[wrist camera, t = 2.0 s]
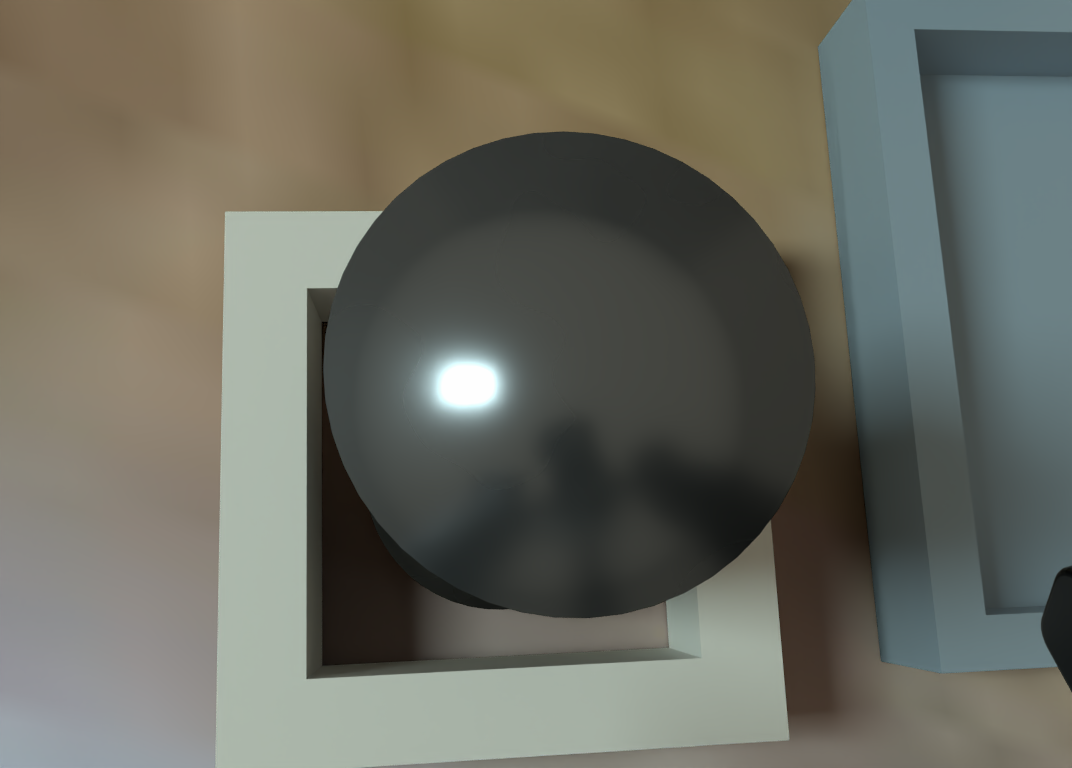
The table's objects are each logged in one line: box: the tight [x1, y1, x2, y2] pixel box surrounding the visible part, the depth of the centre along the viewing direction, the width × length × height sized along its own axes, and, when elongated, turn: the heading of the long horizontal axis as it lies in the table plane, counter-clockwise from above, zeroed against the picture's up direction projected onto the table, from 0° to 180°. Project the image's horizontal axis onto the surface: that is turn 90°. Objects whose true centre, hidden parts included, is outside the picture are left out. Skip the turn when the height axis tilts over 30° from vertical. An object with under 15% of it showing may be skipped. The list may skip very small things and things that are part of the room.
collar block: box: [215, 211, 789, 768], centre depth 19 cm, size 10×10×2 cm
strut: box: [323, 132, 815, 618], centre depth 15 cm, size 5×5×12 cm
